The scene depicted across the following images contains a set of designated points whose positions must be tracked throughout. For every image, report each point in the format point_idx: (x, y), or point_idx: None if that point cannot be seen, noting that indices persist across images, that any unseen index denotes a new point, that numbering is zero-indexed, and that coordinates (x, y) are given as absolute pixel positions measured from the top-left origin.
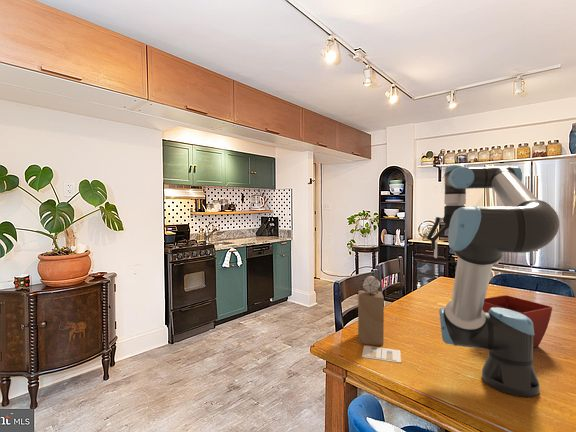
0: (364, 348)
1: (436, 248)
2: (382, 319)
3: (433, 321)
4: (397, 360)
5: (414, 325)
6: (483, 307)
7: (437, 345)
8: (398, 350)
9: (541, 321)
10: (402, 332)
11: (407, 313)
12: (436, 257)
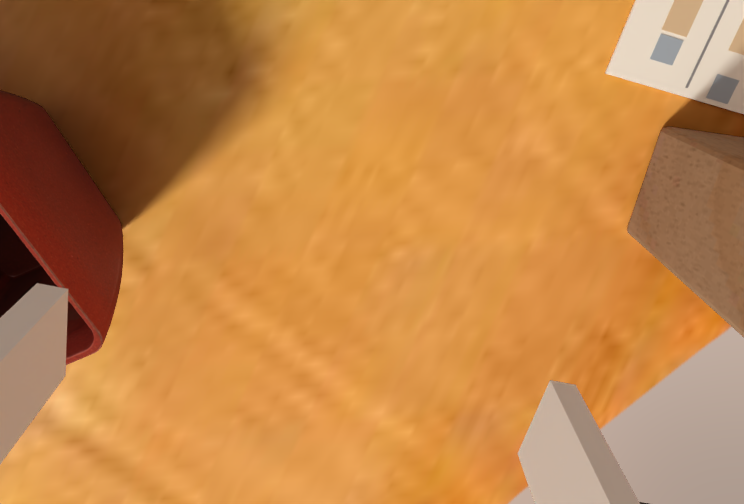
0: None
1: (615, 490)
2: (742, 160)
3: (305, 404)
4: None
5: (414, 355)
6: (92, 290)
7: (399, 144)
8: (614, 72)
9: None
10: (505, 276)
11: (391, 482)
12: (560, 387)
